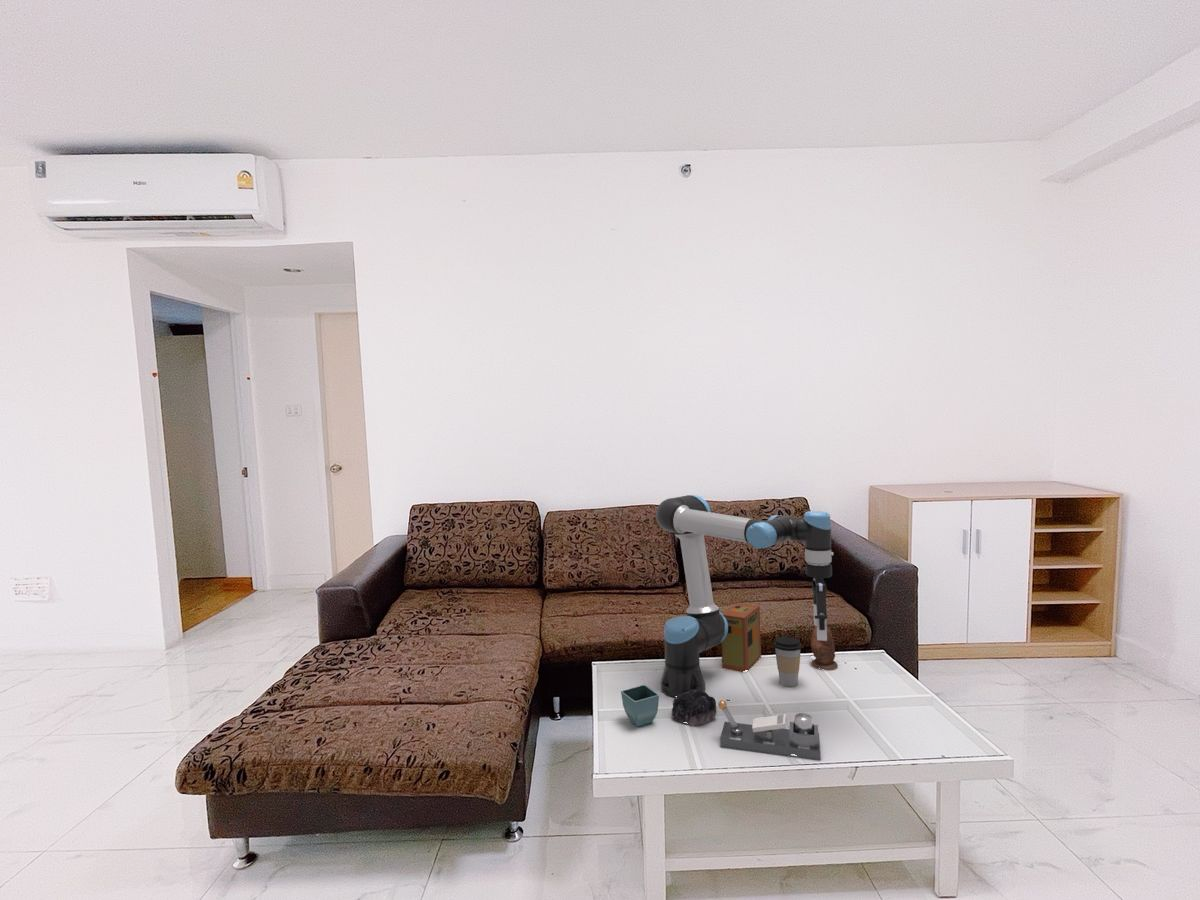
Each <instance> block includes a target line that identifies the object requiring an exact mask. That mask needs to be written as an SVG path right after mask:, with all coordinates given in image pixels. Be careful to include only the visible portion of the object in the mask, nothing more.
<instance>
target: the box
mask: <svg viewBox="0 0 1200 900" xmlns="http://www.w3.org/2000/svg"><path fill="white" fill-rule="evenodd" d="M760 609H761V607H760V605H758V604H757V605H755V604H747V603H741V602H736V603H735V604H733V605H732V606H730V607H729V608H727V609H726V610H725V611H723V612H721V613H722V614H723V616H724V617H725V618H726V620H727V623H728V633H727V636H726V638H725V639H724V641H722V642H721V667H722V669H723V670H728V671H729V670H730V671H734V672H739V673H743V671H745V670H748V671H749V670H751V669H752V667H754V666H755V664H757V663H758V661H759V660H760V659H761V658H762V646H761V610H760ZM760 657H761V658H760ZM759 658H760V659H759Z"/></svg>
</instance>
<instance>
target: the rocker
mask: <svg viewBox="0 0 1200 900" xmlns="http://www.w3.org/2000/svg"><path fill="white" fill-rule="evenodd" d="M787 720H788V719H787V715H786V713H784V714H777V715H770V716H764V717H763V716H761V717H756V718H755V717H754V718H753V720H752V721H753V722H752V725H753V726H752V729H753V732H760V731H767V730H775V729H782V728H783V729H787Z"/></svg>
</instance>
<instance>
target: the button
mask: <svg viewBox="0 0 1200 900" xmlns="http://www.w3.org/2000/svg"><path fill="white" fill-rule="evenodd" d="M794 722H795V731H796V733H801V734H809V735H811V734H812V724H813V716H811V715H810V714H808V713H803V712H800V713H796V714H795V715H794Z"/></svg>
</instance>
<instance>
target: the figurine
mask: <svg viewBox="0 0 1200 900" xmlns="http://www.w3.org/2000/svg"><path fill="white" fill-rule="evenodd" d="M810 647H811V648H810V649H811V652H812V654H813V657H815V658H814V659H812V660H811V663H810V665H811V667H813V668H815V669H816V670H817V669H818V670H822V669H826V670H825V671H833V670H835V669H838V663H837V662H836V661H835V657H836V654H835V653H836V649H835V648H836V647H835V641H834V637H833V634H832V631H831V629H830V627H828V626H827V641H822V640H817V626H815V627H814V628H813V630H812V633H811V638H810ZM819 668H820V669H819Z"/></svg>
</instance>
